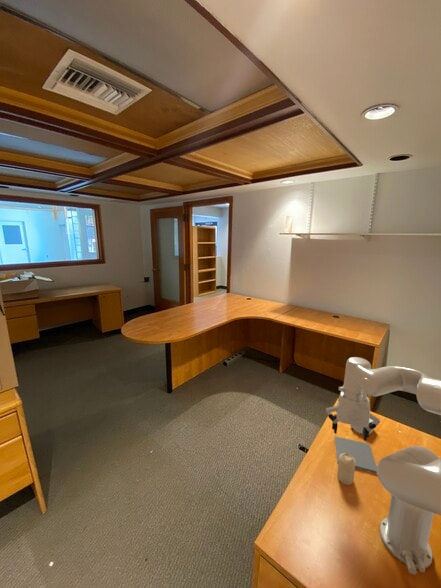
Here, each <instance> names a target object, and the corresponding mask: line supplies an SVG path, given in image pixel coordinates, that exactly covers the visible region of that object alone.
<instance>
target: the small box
mask: <svg viewBox="0 0 441 588" xmlns="http://www.w3.org/2000/svg"><path fill="white" fill-rule="evenodd" d="M370 422H373V420H371V419H369V423H370ZM349 427H351V428H353V429H354V430H353V429H352V430H353V431H355V430H356V431H355V432H357V431H358V432H359V434H360V433H361V434H360V435H362V433H363V427H359V426H355V425H350V426H349ZM351 428H350V429H351ZM374 430H375V428H373V429H371V431H369V435H371V434H372V433H373V432H374ZM358 432H357V433H358Z"/></svg>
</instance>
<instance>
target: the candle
mask: <svg viewBox="0 0 441 588" xmlns="http://www.w3.org/2000/svg"><path fill="white" fill-rule="evenodd" d="M337 464H338V465H337V475H336V477H337V479H338V481H340V483H342V484H344V485H346V486H350V485H352V484H353V483H354V479H355V470H356V468H355V464H356V461H355V459H354V458H353V457H352V456H351V455H350V454H349V453H342V454H340V456H339V463H338V462H337Z"/></svg>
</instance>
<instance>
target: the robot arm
mask: <svg viewBox="0 0 441 588" xmlns="http://www.w3.org/2000/svg"><path fill="white" fill-rule="evenodd" d="M343 379H344V380H343V385H342V386H338V391H340V392H339V393H340V394H339V397H338V399H337V404H336V405H334V406H331V407H330V406H329V407H326V408H325V413H326V414H327V417H328V418H329V419H330V420H331V422H332V424H331V429H332V430H333V433H334V434H337V432H338V423H339V422H340V423H342V424H347V425H350V426H351V425H355V426H359V427H363V433H362V434H361V435H362V438H363V440H364V441H367V440H368V439H367V438H369V437H370V434H369V431H371V429H373V428H374V429H375V428H377V426H378V425H379V424H380V423H381V420H380V419H379V418H378V417H377V416H376V415H374V414H372V413H371V403H370V399H369V397H368V395H369V396H371V397H379V396H382V395H383V396H384V395H386V394H390V393H393V392H397V391H401V392H405V393H406V392H407V393H410V394H414V395H416V400H417V402H418V404H419V406H420V408H422V409H423V410H425V411H427V412H429V413H432V414H435V415H439V416H441V379H438V378H434V377H430V376H429V375H427V374H426V373H424V372H421V371H420V370H417V369H413V368H408V367H403V366H395V365H387V366H383V367H377V368H372V364H371V362H370V361H368V360H367V359H365V358H363V357H359V356H358V357H357V356H353V357H352V356H351V357H349V358H348V359H347V360H346V363H345V371H344V378H343ZM333 413H335V414H333ZM369 419H371V420H373V422H370V423H369ZM376 467H377V474H376V476H377V478H378V480H379V482H380V484H381V485H382V486H383V488H384V489H385V490H386V491H387V492H388V494H389V493H390V495H391V498H390V502H389V503H390V504H389V509H388V515H387V517H385V518H383V519H382V520H381V521H380V524H379V525H380V526H379V534H380V537H381V538H380V539H381V541H383V544H384V545H385V547H386V548H387V550H388V551H389V552H390V553H391V554H392V555H393V556H394V558H396V559H398V561H400V562H401V563H403V564H404V565H406V568H407V570H408V573H410V574H412V575H417V574H418V571H417V570H419V572H421V573H425V572H426V569H427V568H429V567H430V566H431V564H432V562H433V558H434V557H433V556H434V555H433V552H432V548H431V545H430V543H429V539H430V534H431V529H432V524H433V520H434V515H439V516H441V457H439V456H438V455H437V454H436V453H435V452H434V451H432V450H430V449H429V448H427V447H425V446H421V445H411V446H408V447H405V448H401V449H400V450H397V451H396V452H394V453H390V454H388V455H385V456H384V457H382V458H381V459H379V461H378V463H376Z"/></svg>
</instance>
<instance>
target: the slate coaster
mask: <svg viewBox="0 0 441 588" xmlns="http://www.w3.org/2000/svg"><path fill="white" fill-rule="evenodd" d="M334 444H335V445H334V446H335V452H336V453H335V454H336V463H337V464H338V463H339V456H340V454H342V453H349V454H350V455H351V456H352V457H353V458H354V459H355V461H356V464H355V470H356V469H357V470H361V471H364V472H368V473H372V474H376V475H377V463H376V461H375V456H374V454H373V451H372V447H371V444H370V443H367V442H362V441H358V440H353V439H349V438H346V437H341V436H340V437H339V436H335V435H334Z"/></svg>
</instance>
